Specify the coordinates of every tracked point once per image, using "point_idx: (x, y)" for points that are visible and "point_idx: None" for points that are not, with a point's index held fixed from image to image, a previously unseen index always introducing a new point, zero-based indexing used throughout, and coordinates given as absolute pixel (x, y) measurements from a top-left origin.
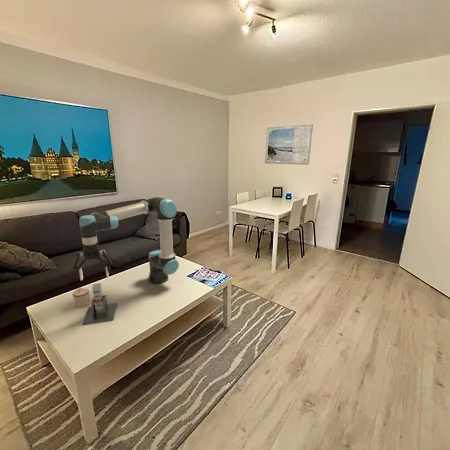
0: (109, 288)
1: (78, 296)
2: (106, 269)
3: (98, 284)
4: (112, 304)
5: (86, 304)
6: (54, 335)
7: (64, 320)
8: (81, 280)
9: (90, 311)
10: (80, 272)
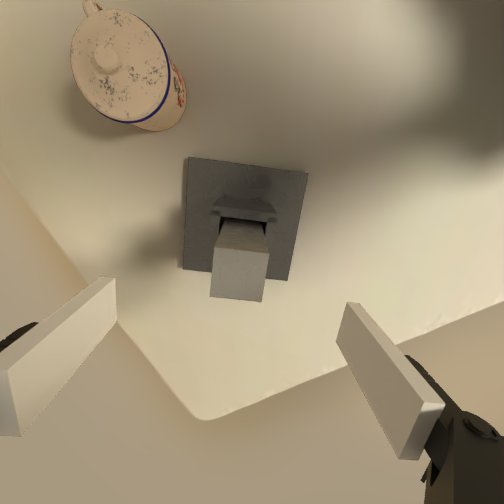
0: None
1: (121, 122)
2: (387, 422)
3: (251, 268)
4: (290, 181)
5: (173, 123)
6: None
7: (108, 208)
8: (111, 320)
9: (200, 201)
10: (50, 396)
